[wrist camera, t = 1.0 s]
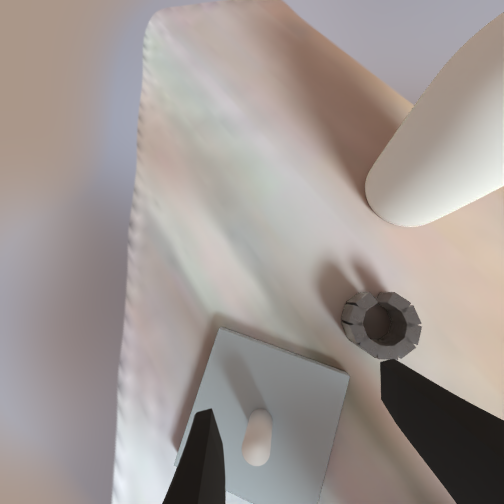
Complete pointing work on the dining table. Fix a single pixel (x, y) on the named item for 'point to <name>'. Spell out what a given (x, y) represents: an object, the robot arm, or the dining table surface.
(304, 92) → the dining table surface
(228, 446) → the stand
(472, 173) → the milk bottle
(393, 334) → the split ring
